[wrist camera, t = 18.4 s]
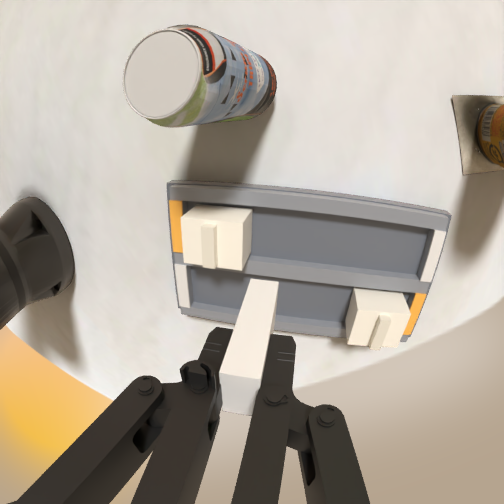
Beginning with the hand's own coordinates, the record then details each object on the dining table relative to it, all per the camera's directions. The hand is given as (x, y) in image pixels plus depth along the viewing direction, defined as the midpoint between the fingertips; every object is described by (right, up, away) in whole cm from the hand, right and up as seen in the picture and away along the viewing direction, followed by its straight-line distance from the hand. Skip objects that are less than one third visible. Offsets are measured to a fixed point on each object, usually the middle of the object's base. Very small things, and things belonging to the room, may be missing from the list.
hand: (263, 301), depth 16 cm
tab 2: (-3, +5, +10) cm, 12 cm away
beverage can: (-2, +17, +6) cm, 18 cm away
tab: (+11, -3, +10) cm, 15 cm away
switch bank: (+4, +2, +11) cm, 12 cm away
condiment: (+22, +14, +2) cm, 26 cm away
